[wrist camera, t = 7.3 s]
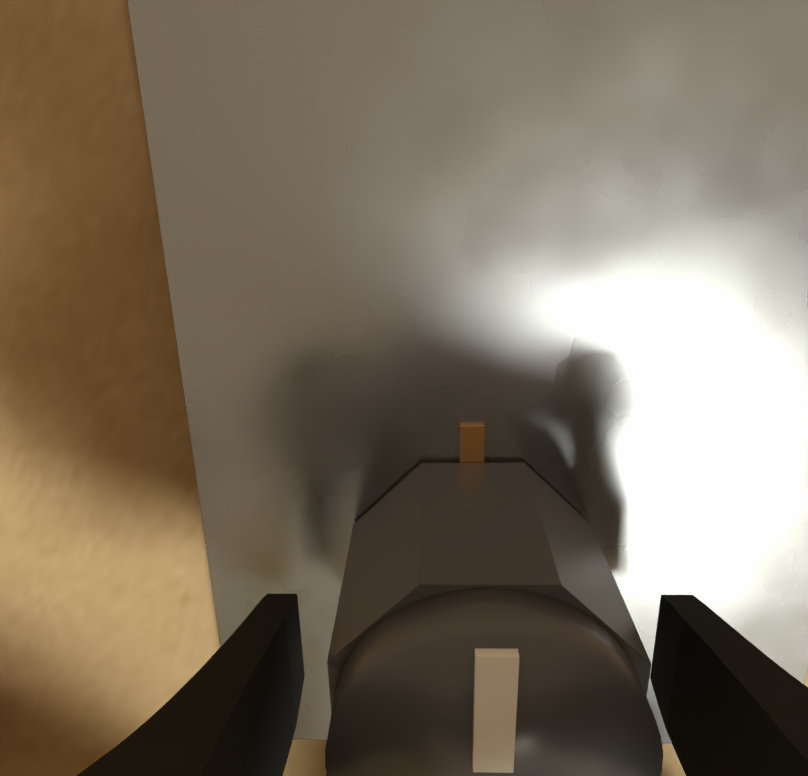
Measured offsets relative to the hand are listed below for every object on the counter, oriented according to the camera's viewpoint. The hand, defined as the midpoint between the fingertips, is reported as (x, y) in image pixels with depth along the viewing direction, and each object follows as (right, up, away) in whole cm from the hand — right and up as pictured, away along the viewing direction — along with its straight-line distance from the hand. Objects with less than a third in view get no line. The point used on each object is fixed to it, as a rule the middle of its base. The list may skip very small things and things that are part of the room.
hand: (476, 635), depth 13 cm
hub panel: (+1, +5, +1) cm, 5 cm away
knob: (0, +1, +2) cm, 2 cm away
